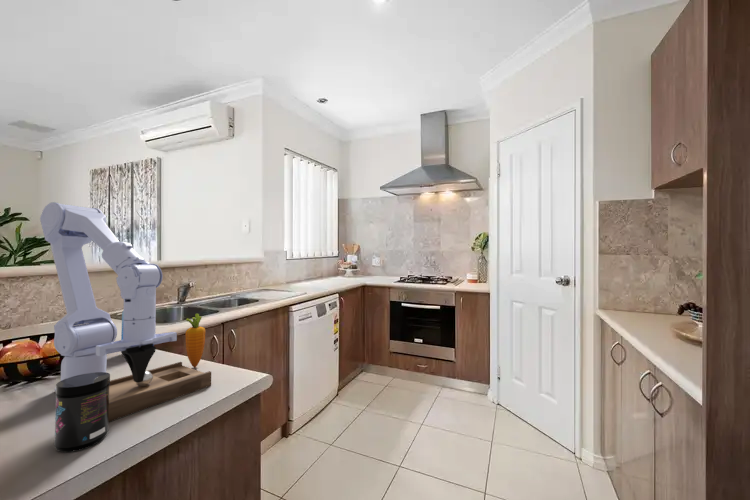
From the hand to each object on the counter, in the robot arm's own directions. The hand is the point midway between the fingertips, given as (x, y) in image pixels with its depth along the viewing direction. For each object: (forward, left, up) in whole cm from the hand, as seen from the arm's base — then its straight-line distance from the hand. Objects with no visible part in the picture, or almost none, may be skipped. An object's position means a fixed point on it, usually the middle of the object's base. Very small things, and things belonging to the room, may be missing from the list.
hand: (139, 381), depth 68 cm
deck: (-1, +2, -4) cm, 5 cm away
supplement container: (+10, -12, -4) cm, 16 cm away
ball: (-1, +1, 0) cm, 1 cm away
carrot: (-10, +18, -4) cm, 21 cm away
